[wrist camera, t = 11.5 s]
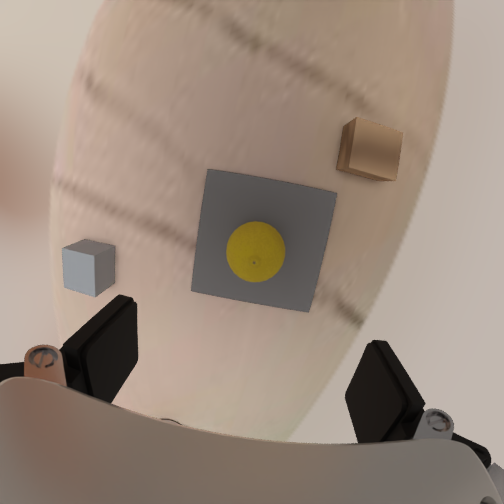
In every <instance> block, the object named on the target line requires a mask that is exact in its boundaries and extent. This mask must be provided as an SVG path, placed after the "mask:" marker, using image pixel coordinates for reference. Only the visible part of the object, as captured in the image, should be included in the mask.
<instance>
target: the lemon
mask: <svg viewBox="0 0 504 504" xmlns="http://www.w3.org/2000/svg"><path fill="white" fill-rule="evenodd" d="M226 255H227V261H228V263H229V266H230V268H231V269H232V271H233V272H234V273H235V274H236V275H237V276H238V277H239V278H241V279H243V280H245V281H249V282H262V281H266V280H268V279H269V278H271V277H273V276H274V275H275V274H276V273H277V272H278V271H279V269H280V268H281V266H282V265H283V262H284V258H285V245H284V241H283V239H282V237H281V235H280V233H279V232H278V231H277V230H276V229H275V228H274V227H272V226H271V225H269V224H267V223H264V222H257V221H253V222H248V223H245V224H243V225H241V226H240V227H238V228H237V229H236V230H235V231H234V232H233V233H232V235H231V236H230V238H229V240H228V243H227V249H226Z"/></svg>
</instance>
